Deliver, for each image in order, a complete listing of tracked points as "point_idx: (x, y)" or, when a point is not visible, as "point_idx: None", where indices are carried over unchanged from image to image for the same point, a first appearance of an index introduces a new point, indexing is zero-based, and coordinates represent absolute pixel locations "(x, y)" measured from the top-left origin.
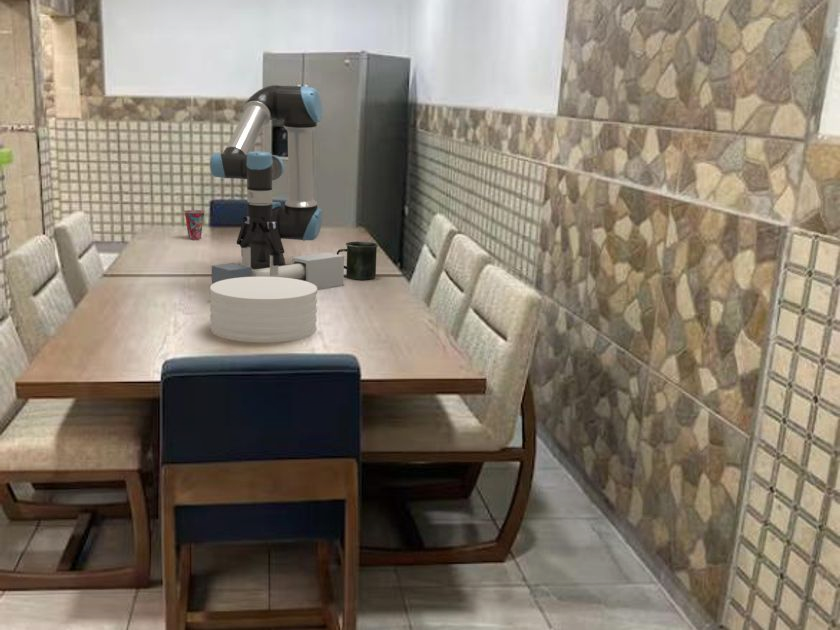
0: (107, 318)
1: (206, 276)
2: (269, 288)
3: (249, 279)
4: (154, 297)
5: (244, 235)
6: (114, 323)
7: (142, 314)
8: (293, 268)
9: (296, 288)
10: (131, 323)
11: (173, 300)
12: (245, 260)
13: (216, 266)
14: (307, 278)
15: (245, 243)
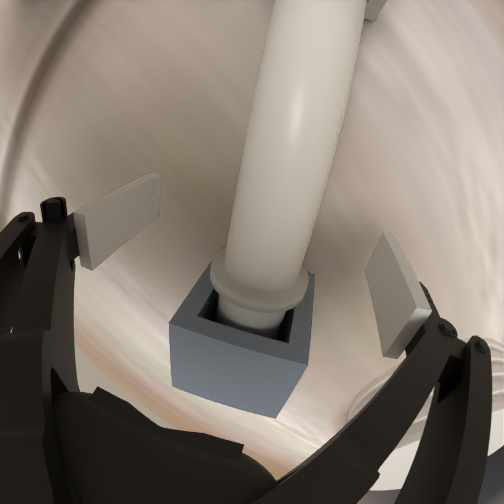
0: (205, 430)
1: (30, 119)
2: None
3: (399, 459)
4: (126, 338)
5: (11, 283)
6: (231, 440)
7: (217, 415)
8: (352, 25)
9: (496, 439)
10: (247, 439)
11: (164, 345)
12: (137, 221)
13: (192, 391)
14: (383, 2)
15: (71, 278)
